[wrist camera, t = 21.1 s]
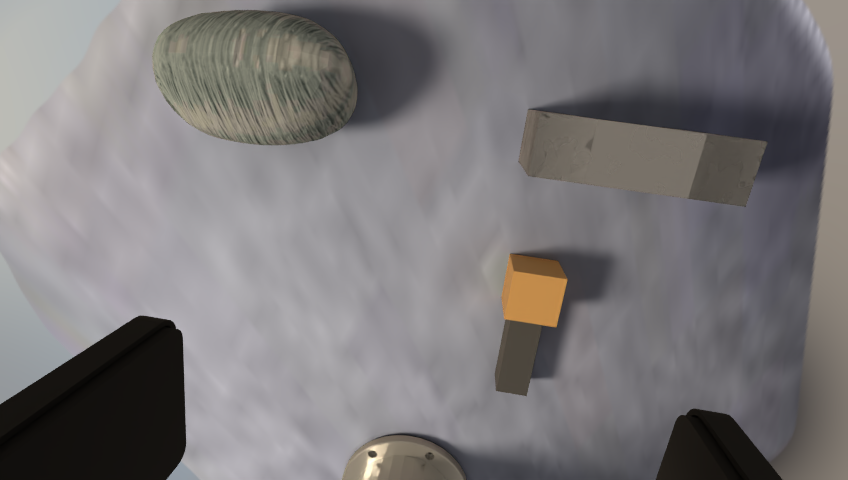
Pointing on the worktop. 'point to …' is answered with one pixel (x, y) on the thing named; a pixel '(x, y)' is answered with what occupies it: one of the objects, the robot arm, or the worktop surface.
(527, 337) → the plug
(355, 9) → the worktop surface
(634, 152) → the housing
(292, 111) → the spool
